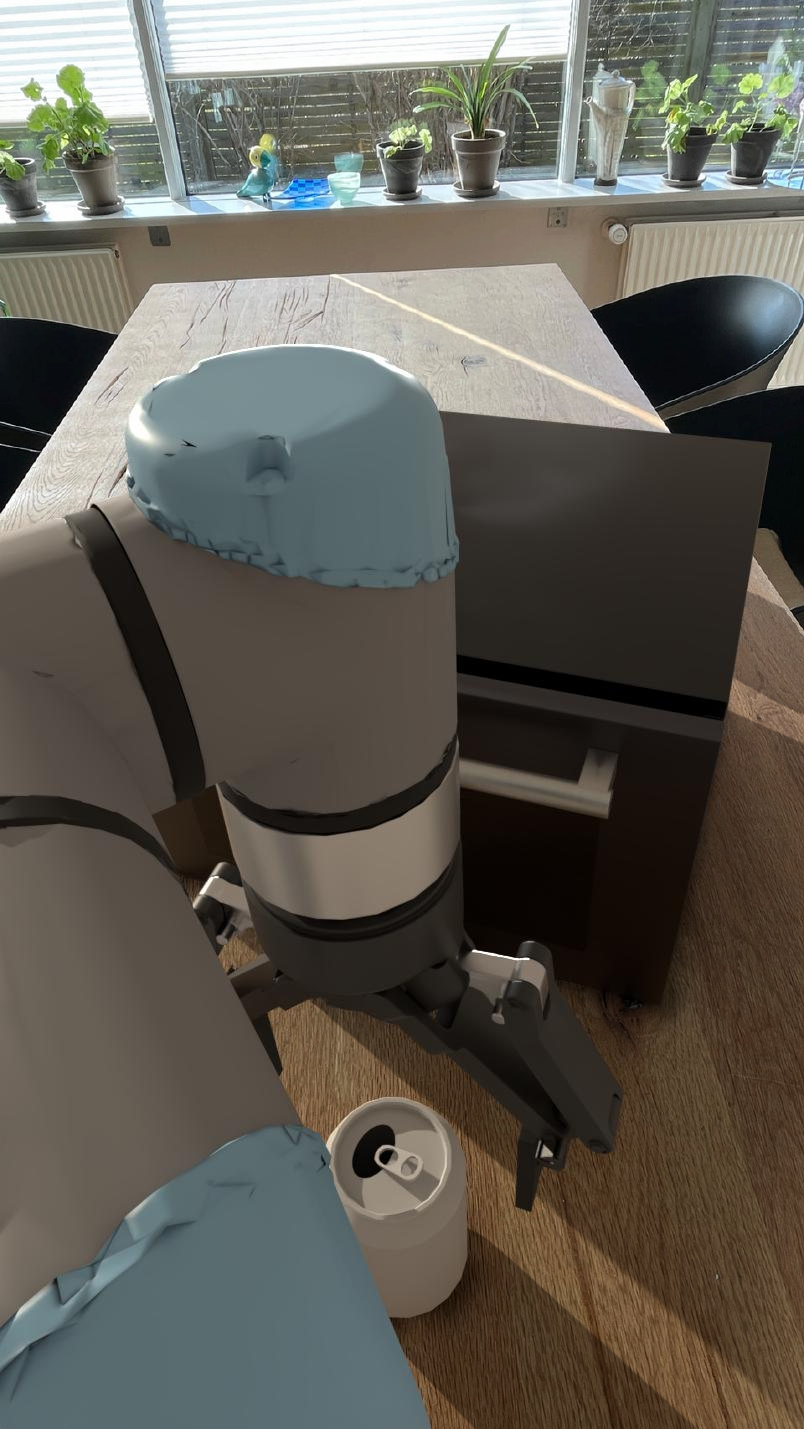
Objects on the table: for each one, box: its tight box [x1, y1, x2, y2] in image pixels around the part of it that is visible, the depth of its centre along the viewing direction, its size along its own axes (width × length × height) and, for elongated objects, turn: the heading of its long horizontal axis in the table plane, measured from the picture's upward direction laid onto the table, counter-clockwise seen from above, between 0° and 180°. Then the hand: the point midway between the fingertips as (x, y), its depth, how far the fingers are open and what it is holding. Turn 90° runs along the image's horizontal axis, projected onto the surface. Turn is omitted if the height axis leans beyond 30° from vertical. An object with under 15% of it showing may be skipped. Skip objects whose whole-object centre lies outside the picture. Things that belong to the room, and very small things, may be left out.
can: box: [325, 1096, 468, 1319], centre depth 51 cm, size 8×8×12 cm
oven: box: [438, 409, 772, 723], centre depth 75 cm, size 32×40×26 cm
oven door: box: [152, 673, 726, 1006], centre depth 62 cm, size 5×40×26 cm, turn 70°
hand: (391, 1134), depth 45 cm, fingers open, 13 cm apart
